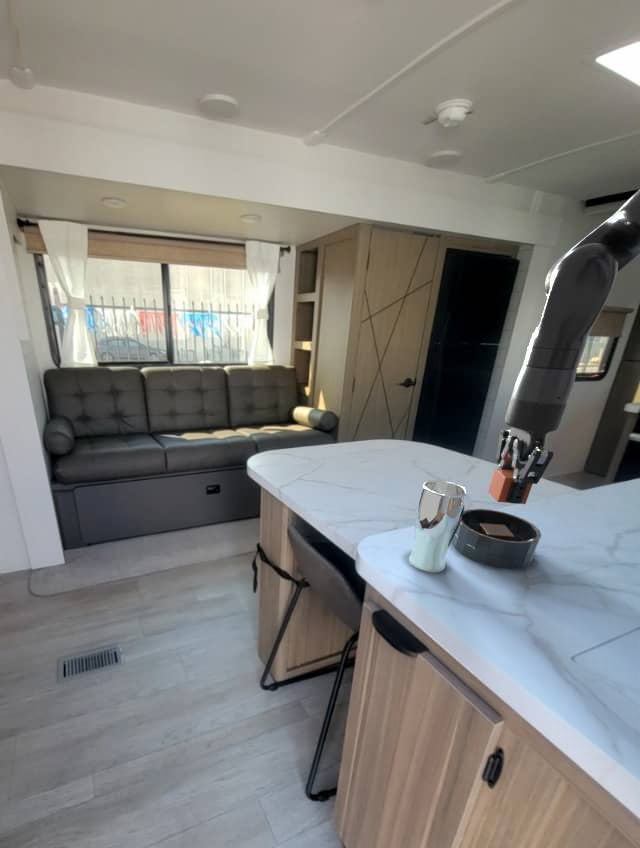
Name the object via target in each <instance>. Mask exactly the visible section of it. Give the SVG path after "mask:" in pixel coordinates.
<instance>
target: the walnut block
mask: <svg viewBox="0 0 640 848" xmlns="http://www.w3.org/2000/svg"><path fill="white" fill-rule="evenodd" d="M477 532H478V533H480V534H483V535H486V536H489V537H492V538H496V539H501V540H505V541H514V538H515V536H514V535H513V534H512V533H511V532H510V531H509V529H508V528H507V527H506V526H505V525H497V524H485V523H479V526H478V530H477Z"/></svg>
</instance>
